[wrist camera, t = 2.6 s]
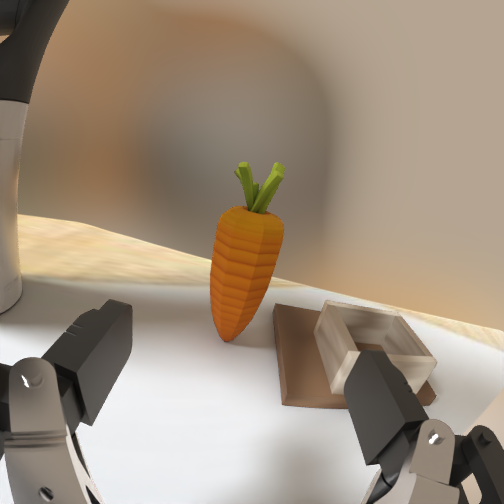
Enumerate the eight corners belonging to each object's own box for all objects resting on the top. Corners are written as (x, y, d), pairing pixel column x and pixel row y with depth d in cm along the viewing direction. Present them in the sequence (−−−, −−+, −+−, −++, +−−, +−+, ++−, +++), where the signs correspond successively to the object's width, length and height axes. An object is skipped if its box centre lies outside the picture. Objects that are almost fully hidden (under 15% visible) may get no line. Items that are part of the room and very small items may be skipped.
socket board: (282, 404, 17) (304, 356, 16) (272, 312, 30) (284, 273, 28) (429, 405, 18) (457, 365, 17) (382, 330, 31) (398, 296, 29)
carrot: (200, 359, 20) (241, 153, 16) (194, 322, 25) (226, 151, 20) (261, 359, 22) (315, 172, 17) (246, 325, 26) (287, 165, 22)
